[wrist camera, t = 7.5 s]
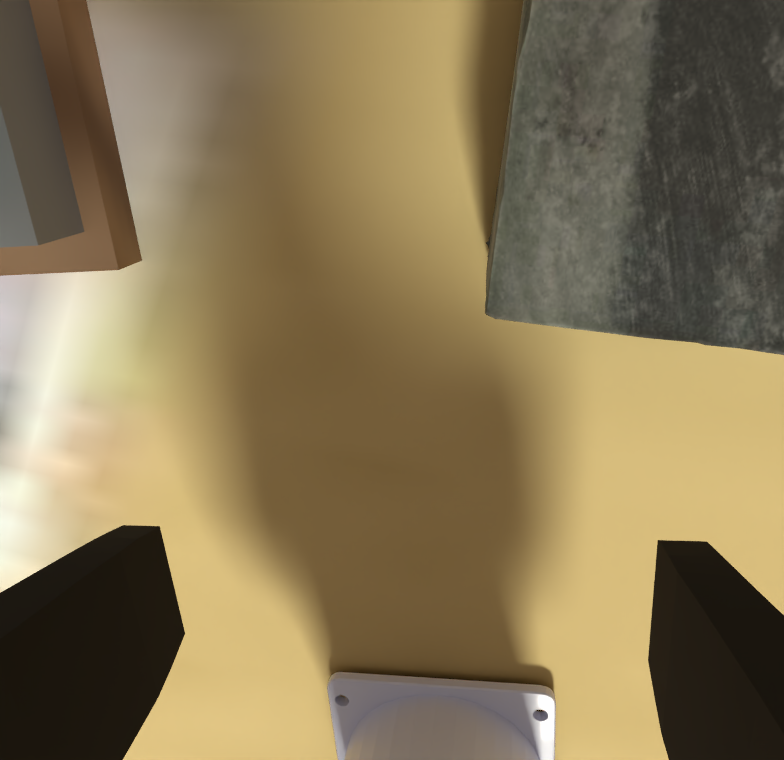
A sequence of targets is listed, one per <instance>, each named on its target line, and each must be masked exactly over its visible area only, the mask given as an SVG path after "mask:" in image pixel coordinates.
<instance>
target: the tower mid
mask: <svg viewBox="0 0 784 760" xmlns="http://www.w3.org/2000/svg"><path fill="white" fill-rule="evenodd" d="M82 232H84V228H83V223H82V219H81V215H80V211H79V207H78V203H77V198H76V194H75V190H74V186H73V182H72V178H71V174H70V169H69V165H68V161H67V157H66V153H65V149H64V144H63V140H62V136H61V132H60V128H59V124H58V120H57V115H56V111H55V107H54V103H53V99H52V95H51V91H50V86H49V82H48V78H47V74H46V70H45V66H44V61H43V57H42V53H41V49H40V45H39V41H38V37H37V32H36V28H35V24H34V20H33V16H32V12H31V7H30V3H29V0H0V248H1V247H20V246H38V245H42V244H45V243H48V242H52V241H55V240H58V239H62V238H65V237H69V236H72V235H75V234H79V233H82Z"/></svg>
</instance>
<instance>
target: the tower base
mask: <svg viewBox="0 0 784 760" xmlns="http://www.w3.org/2000/svg"><path fill="white" fill-rule="evenodd" d="M29 3H30V7H31V12H32V16H33V20H34V24H35V28H36V32H37V37H38V41H39V45H40V49H41V53H42V57H43V61H44V66H45V70H46V74H47V78H48V82H49V86H50V91H51V95H52V99H53V103H54V107H55V111H56V115H57V120H58V124H59V128H60V132H61V136H62V140H63V144H64V149H65V153H66V157H67V161H68V165H69V169H70V174H71V178H72V182H73V186H74V190H75V194H76V198H77V203H78V207H79V211H80V215H81V219H82V223H83V228H84V232H82V233H79V234H75V235H72V236H69V237H65V238H62V239H58V240H55V241H52V242H48V243H45V244H42V245H38V246H20V247H1V248H0V276H1V275H22V274H43V273H63V272H84V271H105V270H120V269H122V268H124V267H127V266H129V265H132V264H134V263H137V262H139V261H141V260H142V259H141V254H140V249H139V245H138V240H137V235H136V231H135V226H134V221H133V217H132V212H131V207H130V203H129V198H128V193H127V189H126V184H125V179H124V175H123V170H122V165H121V161H120V156H119V151H118V147H117V142H116V137H115V133H114V128H113V123H112V119H111V114H110V109H109V105H108V100H107V95H106V91H105V86H104V81H103V77H102V72H101V67H100V63H99V58H98V53H97V49H96V44H95V39H94V35H93V30H92V25H91V21H90V16H89V11H88V7H87V2H86V0H29Z"/></svg>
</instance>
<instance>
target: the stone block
mask: <svg viewBox="0 0 784 760" xmlns="http://www.w3.org/2000/svg"><path fill="white" fill-rule="evenodd" d="M486 244H487V245H488V248H489V254H488V262H487V273H486V302H485V314H486V315H488V316H490V317H493V318H495V319H502V320H509V321H517V322H524V323H532V324H540V325H548V326H555V327H563V328H571V329H579V330H588V331H596V332H604V333H612V334H620V335H628V336H636V337H644V338H653V339H664V340H674V341H685V342H696V343H700V344H704V345H711V346H721V347H732V348H741V349H748V350H754V351H760V352H767V353H774V354H781V355H784V0H523V6H522V14H521V22H520V30H519V37H518V44H517V52H516V60H515V68H514V76H513V83H512V90H511V97H510V104H509V111H508V118H507V125H506V132H505V140H504V147H503V154H502V162H501V168H500V175H499V182H498V187H497V194H496V203H495V210H494V214H493V221H492V230H491V235H490V238H489V241H488V242H486Z"/></svg>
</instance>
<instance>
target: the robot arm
mask: <svg viewBox="0 0 784 760" xmlns="http://www.w3.org/2000/svg"><path fill="white" fill-rule="evenodd" d="M184 635H185V632H184V627H183V623H182V619H181V615H180V610H179V606H178V602H177V598H176V594H175V589H174V585H173V581H172V577H171V572H170V568H169V564H168V560H167V556H166V551H165V547H164V543H163V539H162V534H161V530H160V526H126V525H123V526H121V527H119V528H117V529H114V530H112V531H110V532H108V533H106V534H104V535H102V536H100V537H98V538H96V539H94V540H93V541H91V542H89V543H87V544H85V545H83V546H82V547H80V548H78V549H76V550H74V551H73V552H71V553H69V554H67V555H66V556H64V557H62V558H60V559H58V560H57V561H55V562H53V563H52V564H50V565H48V566H46V567H45V568H43V569H41V570H39V571H38V572H36V573H34V574H32V575H31V576H29V577H27V578H25V579H24V580H22V581H20V582H18V583H17V584H15V585H13V586H11V587H10V588H8V589H6V590H5V591H3V592H1V593H0V760H123V758H124V756H125V755H126V753H127V751H128V749H129V748H130V746H131V744H132V743H133V741H134V739H135V737H136V736H137V734H138V732H139V730H140V729H141V727H142V725H143V723H144V722H145V720H146V718H147V716H148V715H149V713H150V711H151V709H152V707H153V706H154V704H155V702H156V700H157V698H158V697H159V694H160V692H161V690H162V687H163V685H164V683H165V681H166V678H167V676H168V674H169V672H170V669H171V667H172V665H173V662H174V660H175V657H176V655H177V652H178V650H179V647H180V645H181V642H182V640H183V637H184ZM648 662H649V667H650V673H651V679H652V685H653V690H654V696H655V702H656V707H657V712H658V717H659V723H660V728H661V733H662V737H663V741H664V744H665V748H666V751H667V754H668V758H669V760H784V615H783V614H782V613H781V612H780V611H778V610H777V609H776V608H775V607H774V606H773V605H772V604H771V603H770V602H769V601H768V600H767V599H766V598H765V597H764V596H763V595H762V594H761V593H760V592H758V591H757V590H756V589H755V588H754V587H753V586H752V585H751V584H750V583H749V582H748V581H747V580H746V579H745V578H744V577H743V576H742V575H741V574H740V573H739V572H738V571H737V570H736V569H735V568H734V567H733V566H732V565H731V564H730V563H728V562H727V561H726V560H725V559H724V558H723V557H722V556H721V555H720V554H719V553H718V552H717V551H716V550H715V549H714V548H713V547H712V546H711V545H710V544H709V543H708V542H701V541H665V540H658V545H657V557H656V570H655V582H654V595H653V607H652V620H651V632H650V645H649V657H648ZM327 689H328V696H329V703H330V710H331V716H332V723H333V730H334V737H335V744H336V751H337V758H338V760H555V715H556V702H555V695H554V692H553V691H552V690H551V689H550V688H548V687H546V686H542V685H532V684H517V683H502V682H487V681H471V680H456V679H441V678H426V677H411V676H395V675H380V674H365V673H350V672H336V673H334V674H332V676H331V677H330V679H329V682H328V687H327ZM340 695H343V696H345V697H346V698H345V697H341V696H340ZM536 710H544V711H542V712H539V711H536Z"/></svg>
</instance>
